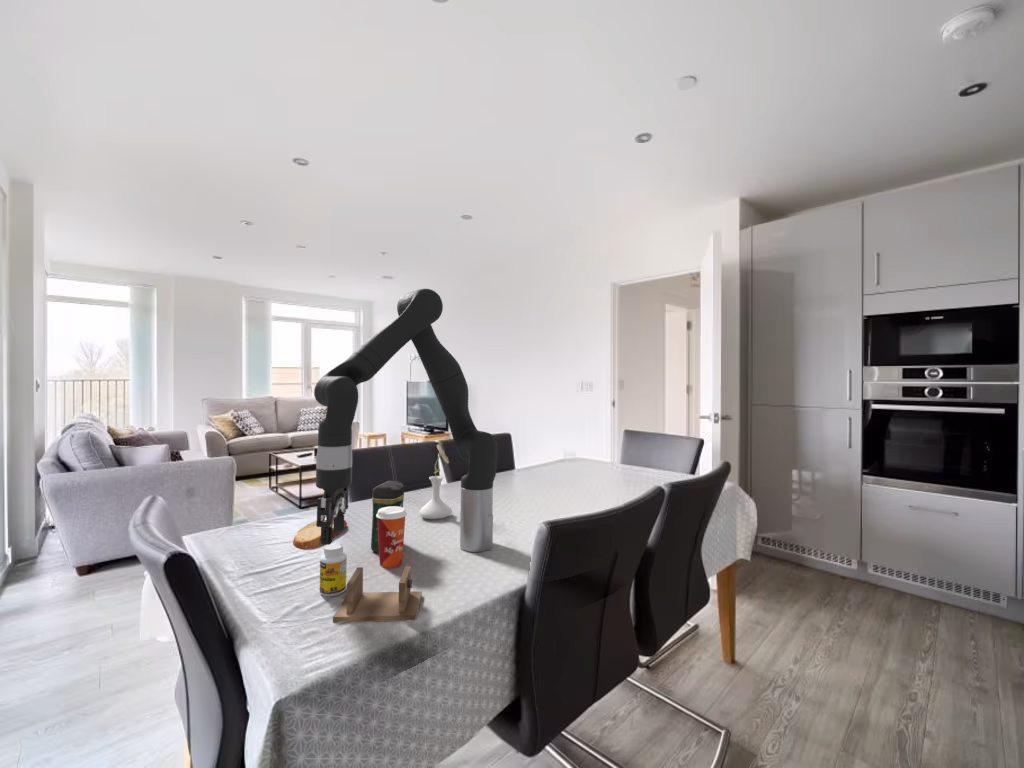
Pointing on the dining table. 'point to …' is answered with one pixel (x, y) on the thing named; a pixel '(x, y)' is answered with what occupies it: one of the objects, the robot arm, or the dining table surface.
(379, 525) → the paper cup
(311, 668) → the dining table surface
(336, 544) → the supplement bottle
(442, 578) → the dining table surface
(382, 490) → the coffee jar
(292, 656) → the dining table surface
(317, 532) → the slice of bread
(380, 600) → the holder
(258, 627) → the dining table surface
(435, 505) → the flower in vase
